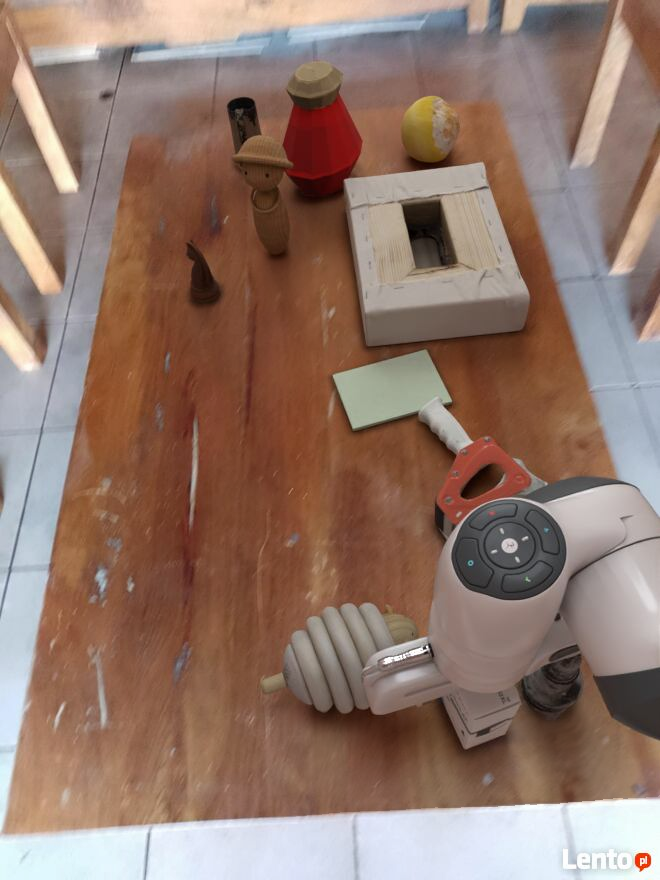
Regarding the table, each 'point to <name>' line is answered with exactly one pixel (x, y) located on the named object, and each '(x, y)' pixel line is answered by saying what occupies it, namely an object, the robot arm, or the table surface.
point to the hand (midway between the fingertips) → (466, 682)
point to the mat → (389, 389)
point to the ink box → (481, 714)
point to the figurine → (266, 189)
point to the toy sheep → (338, 655)
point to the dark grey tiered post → (554, 686)
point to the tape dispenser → (471, 469)
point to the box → (432, 256)
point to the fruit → (430, 129)
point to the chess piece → (201, 277)
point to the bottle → (319, 131)
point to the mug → (243, 121)
